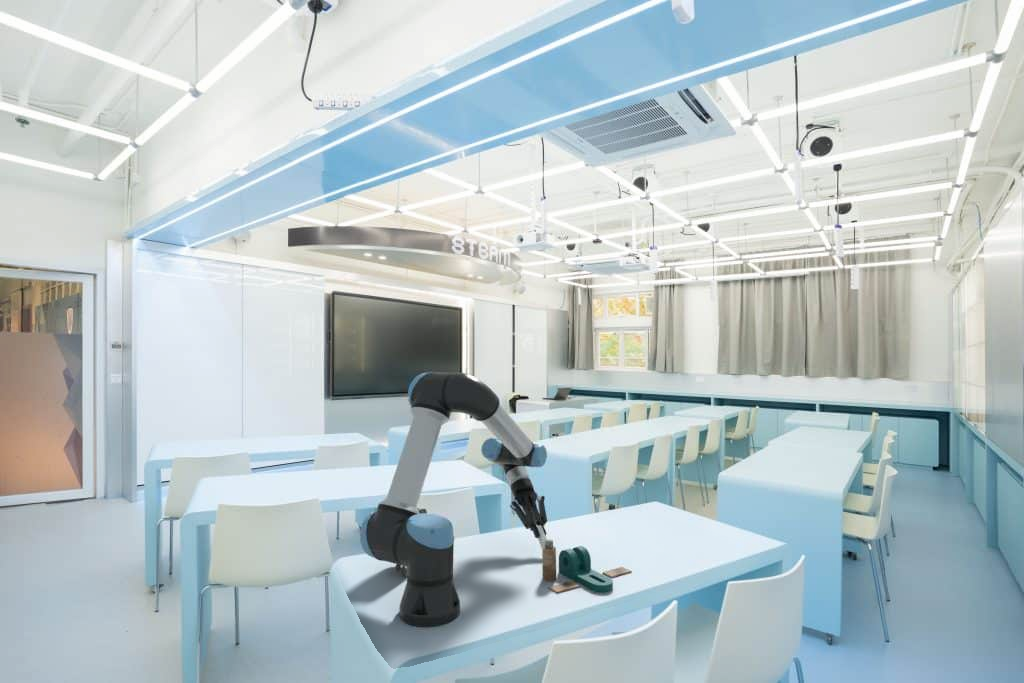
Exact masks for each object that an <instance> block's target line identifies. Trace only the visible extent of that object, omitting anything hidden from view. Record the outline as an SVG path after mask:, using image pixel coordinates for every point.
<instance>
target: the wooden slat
mask: <svg viewBox="0 0 1024 683" xmlns="http://www.w3.org/2000/svg"><path fill="white" fill-rule="evenodd" d="M632 572H633V571H632V570H631V569H628V568H626V567H624V566H621V567H616V568H614V569H613V568H612V569H609V570H605V571H603V572H602V575H605V576H607V577H609V578H611V579H613V578H617V577H620V576H623V575H627V574H630V573H632ZM578 588H581V585H580V584H578V583H576V582H574V581H572V580H569V581H565V582H561V583H558V584H554V585H551V586H548V589H549V590H550V591H552V592H554V593H556V594H560V593H563V592H568V591H571V590H574V589H578Z"/></svg>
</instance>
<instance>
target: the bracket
mask: <svg viewBox="0 0 1024 683" xmlns="http://www.w3.org/2000/svg"><path fill="white" fill-rule="evenodd" d="M591 558H592V557H591V554H590V552H589V550H588V549H587V548H586V547H585V546H583V545H579V546H576V547H573V548H567V549H563V550H561V551H560V553H559V554H558V575H561V576H563V577H565V578H567V579H569V581H572V582H574V583H576V584H578V585H580V586H582V587H584V588H586V589H587V590H589V591H592V592H594V593H598V594H599V593H600V594H606V593H610V592H612V591H613V589H614V588H613V587H614V585H613V584H614V582H613V581H614V580H613V578H611V577H609V576H607V575H605V574H603V573H600V572H598V571H596V570H593V569H592V565H591V564H592V563H591V562H592V559H591Z"/></svg>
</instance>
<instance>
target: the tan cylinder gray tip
mask: <svg viewBox="0 0 1024 683" xmlns="http://www.w3.org/2000/svg"><path fill="white" fill-rule="evenodd" d="M541 549H542V552H541V553H542V555H541V556H542V558H541V560H542V561H541V563H542V581H544V582H548V583H554V582H555V581H556V582H557V547H556V546H554V540H553V539H547V540H545V546H543V547H542V548H541Z"/></svg>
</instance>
